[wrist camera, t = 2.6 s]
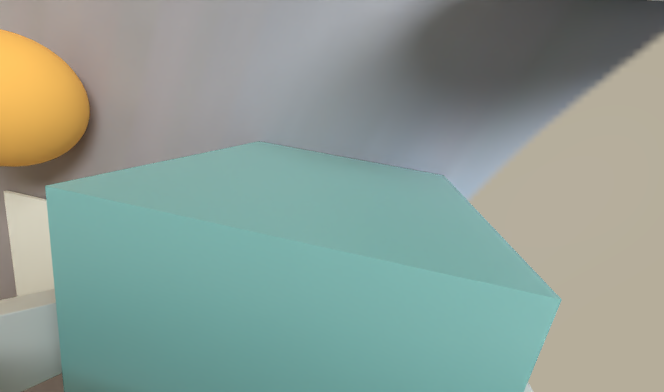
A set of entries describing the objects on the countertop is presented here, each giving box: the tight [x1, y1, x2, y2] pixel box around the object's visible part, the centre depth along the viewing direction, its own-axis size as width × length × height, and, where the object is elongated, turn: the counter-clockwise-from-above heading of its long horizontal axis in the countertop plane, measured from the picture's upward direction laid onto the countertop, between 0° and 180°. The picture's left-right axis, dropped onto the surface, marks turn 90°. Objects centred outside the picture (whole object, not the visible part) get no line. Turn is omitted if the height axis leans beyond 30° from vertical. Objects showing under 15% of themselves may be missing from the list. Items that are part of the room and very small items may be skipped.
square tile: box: [4, 191, 55, 296], centre depth 17 cm, size 8×8×1 cm
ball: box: [0, 29, 90, 166], centre depth 12 cm, size 5×5×5 cm
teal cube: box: [45, 141, 561, 392], centre depth 10 cm, size 8×8×9 cm
